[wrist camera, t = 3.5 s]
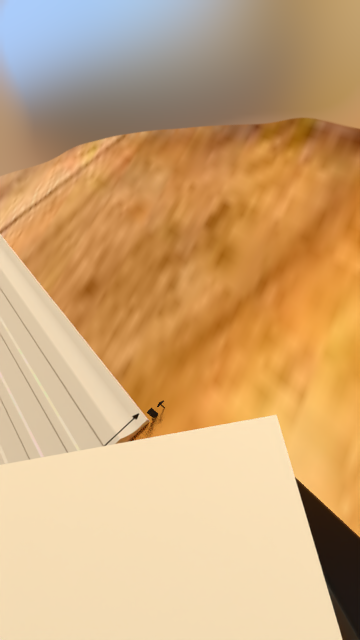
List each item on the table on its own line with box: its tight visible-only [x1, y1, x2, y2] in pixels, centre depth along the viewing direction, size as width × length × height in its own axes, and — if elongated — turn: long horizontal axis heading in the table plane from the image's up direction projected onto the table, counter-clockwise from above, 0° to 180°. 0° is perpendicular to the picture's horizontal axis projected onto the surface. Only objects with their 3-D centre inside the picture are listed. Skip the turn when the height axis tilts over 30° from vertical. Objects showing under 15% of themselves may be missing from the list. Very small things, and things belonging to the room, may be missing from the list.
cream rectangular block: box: [0, 415, 342, 640], centre depth 8 cm, size 4×4×12 cm
